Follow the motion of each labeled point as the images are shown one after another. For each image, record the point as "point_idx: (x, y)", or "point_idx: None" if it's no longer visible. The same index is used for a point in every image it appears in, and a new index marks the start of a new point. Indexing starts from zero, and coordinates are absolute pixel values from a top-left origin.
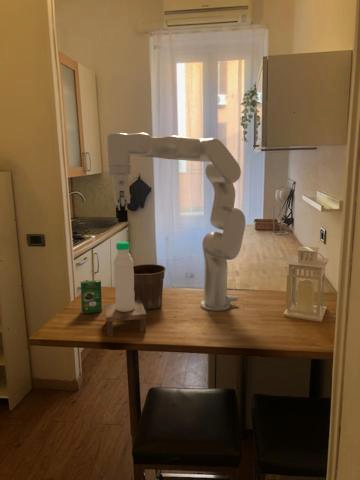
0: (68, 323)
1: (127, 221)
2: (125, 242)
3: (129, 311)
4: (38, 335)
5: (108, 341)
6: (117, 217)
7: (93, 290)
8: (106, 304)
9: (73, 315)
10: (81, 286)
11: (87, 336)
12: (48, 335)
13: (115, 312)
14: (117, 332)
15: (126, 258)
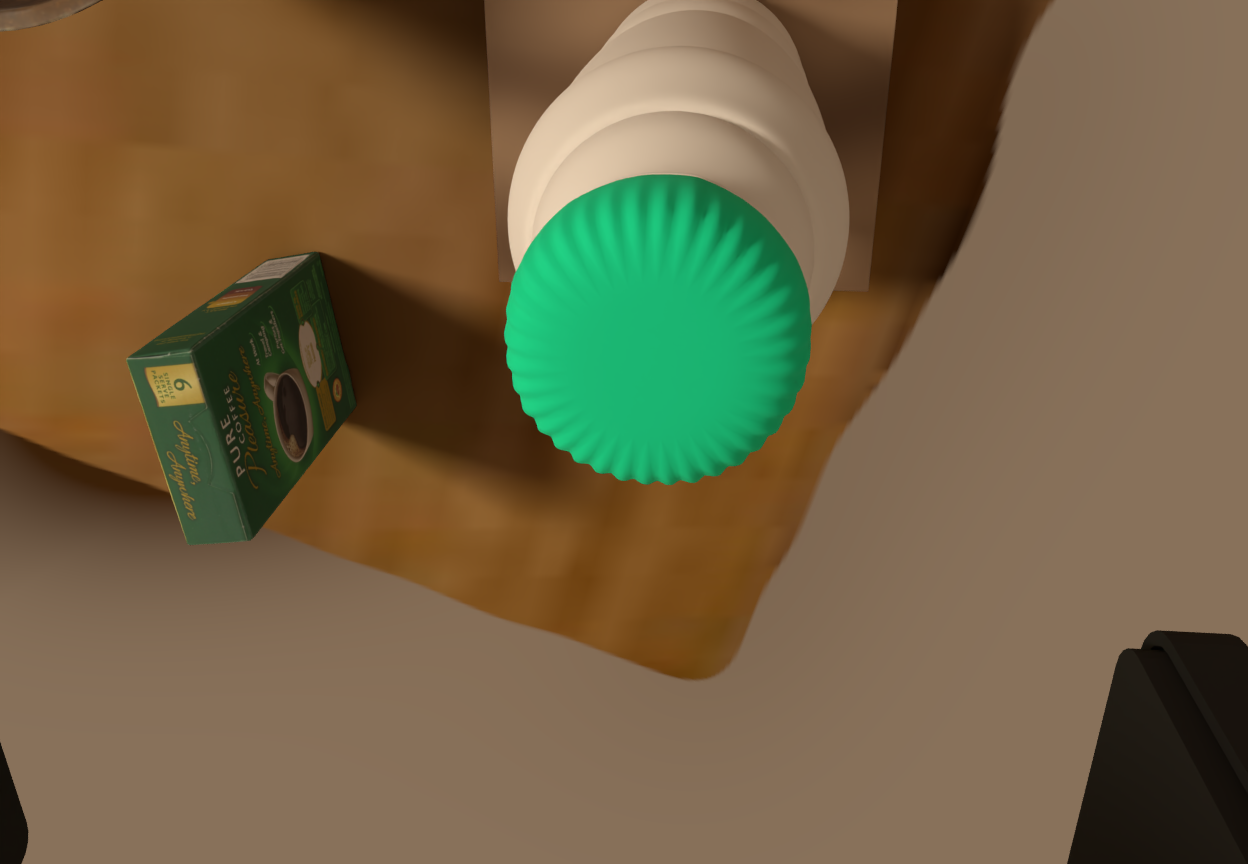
0: (521, 502)
1: (1225, 634)
2: (671, 306)
3: None
4: (681, 669)
5: (943, 234)
6: (14, 841)
7: (257, 394)
8: None
9: (369, 468)
10: (262, 524)
11: None
12: (699, 616)
13: None
14: None
15: (807, 215)
